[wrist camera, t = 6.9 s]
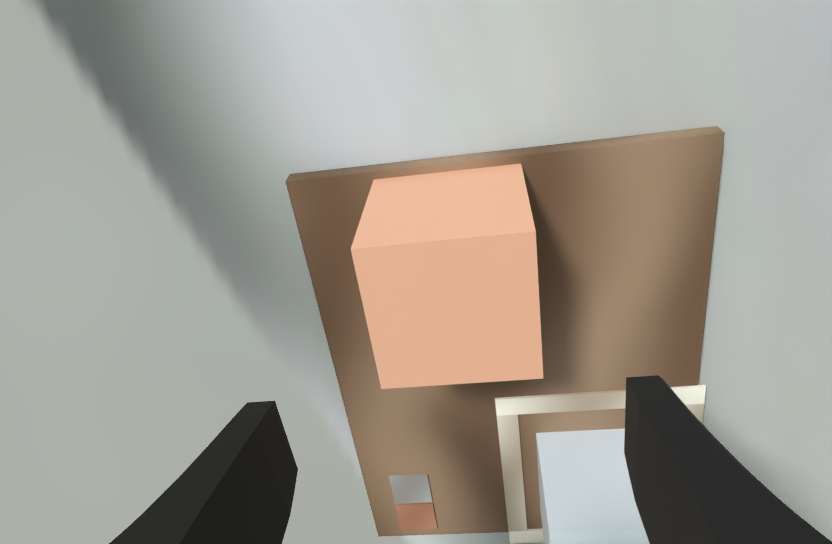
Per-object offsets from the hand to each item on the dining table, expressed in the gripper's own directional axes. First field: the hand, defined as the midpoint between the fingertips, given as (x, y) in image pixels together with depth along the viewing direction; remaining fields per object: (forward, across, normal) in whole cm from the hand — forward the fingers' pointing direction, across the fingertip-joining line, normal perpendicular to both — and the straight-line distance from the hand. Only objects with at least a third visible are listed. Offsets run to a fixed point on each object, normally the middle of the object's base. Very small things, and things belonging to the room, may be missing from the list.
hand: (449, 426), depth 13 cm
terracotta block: (+8, 0, 0) cm, 8 cm away
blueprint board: (+9, -2, +6) cm, 11 cm away
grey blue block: (+8, -4, +11) cm, 15 cm away
